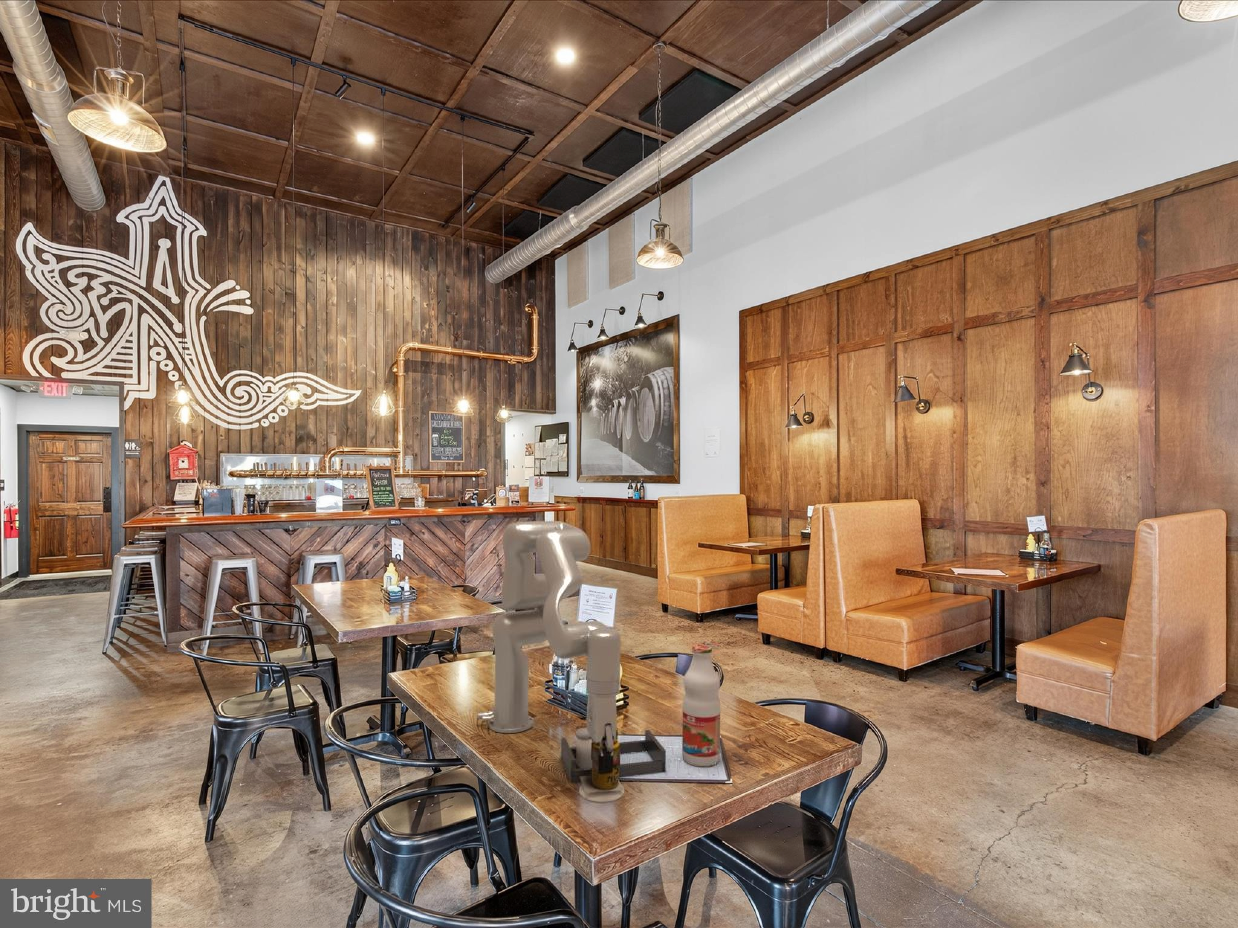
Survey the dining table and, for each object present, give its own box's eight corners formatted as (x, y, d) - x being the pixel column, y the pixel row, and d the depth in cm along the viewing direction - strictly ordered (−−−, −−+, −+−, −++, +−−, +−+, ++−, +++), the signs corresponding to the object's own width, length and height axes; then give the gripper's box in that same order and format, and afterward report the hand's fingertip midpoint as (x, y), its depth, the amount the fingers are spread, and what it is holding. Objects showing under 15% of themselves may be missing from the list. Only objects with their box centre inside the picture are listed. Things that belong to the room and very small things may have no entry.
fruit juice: (727, 759, 157) (728, 647, 158) (703, 771, 150) (704, 653, 151) (698, 747, 164) (699, 639, 164) (674, 758, 157) (675, 645, 158)
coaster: (584, 804, 134) (584, 802, 134) (575, 782, 144) (575, 781, 144) (629, 799, 136) (629, 797, 136) (617, 778, 146) (617, 776, 146)
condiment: (623, 790, 138) (624, 735, 138) (585, 793, 136) (586, 737, 136) (615, 774, 145) (616, 722, 145) (579, 778, 143) (580, 725, 143)
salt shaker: (577, 768, 151) (578, 735, 151) (574, 761, 155) (574, 728, 155) (594, 767, 152) (595, 733, 152) (590, 759, 156) (591, 727, 156)
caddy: (570, 782, 144) (571, 760, 144) (561, 758, 156) (561, 738, 156) (665, 771, 150) (665, 750, 150) (648, 749, 162) (649, 729, 162)
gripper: (579, 674, 148) (577, 751, 148) (595, 699, 132) (594, 786, 131) (609, 672, 150) (608, 748, 150) (629, 696, 133) (628, 782, 133)
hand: (601, 765), depth 140 cm, fingers closed on condiment, 6 cm apart
